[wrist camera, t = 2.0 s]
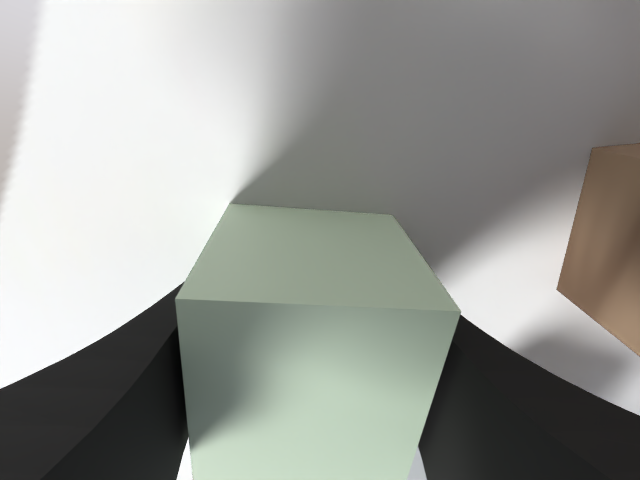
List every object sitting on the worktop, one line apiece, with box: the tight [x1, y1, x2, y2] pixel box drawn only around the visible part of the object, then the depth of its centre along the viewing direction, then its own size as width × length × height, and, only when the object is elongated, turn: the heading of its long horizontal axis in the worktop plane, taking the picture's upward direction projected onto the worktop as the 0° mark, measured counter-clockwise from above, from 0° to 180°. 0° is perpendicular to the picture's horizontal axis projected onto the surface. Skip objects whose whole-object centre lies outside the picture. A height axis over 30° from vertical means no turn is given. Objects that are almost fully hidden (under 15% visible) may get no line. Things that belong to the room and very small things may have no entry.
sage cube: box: [175, 203, 461, 480], centre depth 9 cm, size 5×5×5 cm
